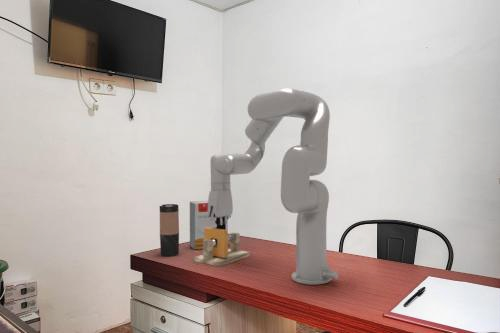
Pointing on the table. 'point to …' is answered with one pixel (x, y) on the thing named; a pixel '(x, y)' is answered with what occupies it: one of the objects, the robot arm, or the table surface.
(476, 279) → the table surface
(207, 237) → the collar
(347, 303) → the table surface
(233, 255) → the pipe stand
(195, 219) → the hard drive box
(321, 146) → the robot arm
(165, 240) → the travel mug
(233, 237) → the pipe
